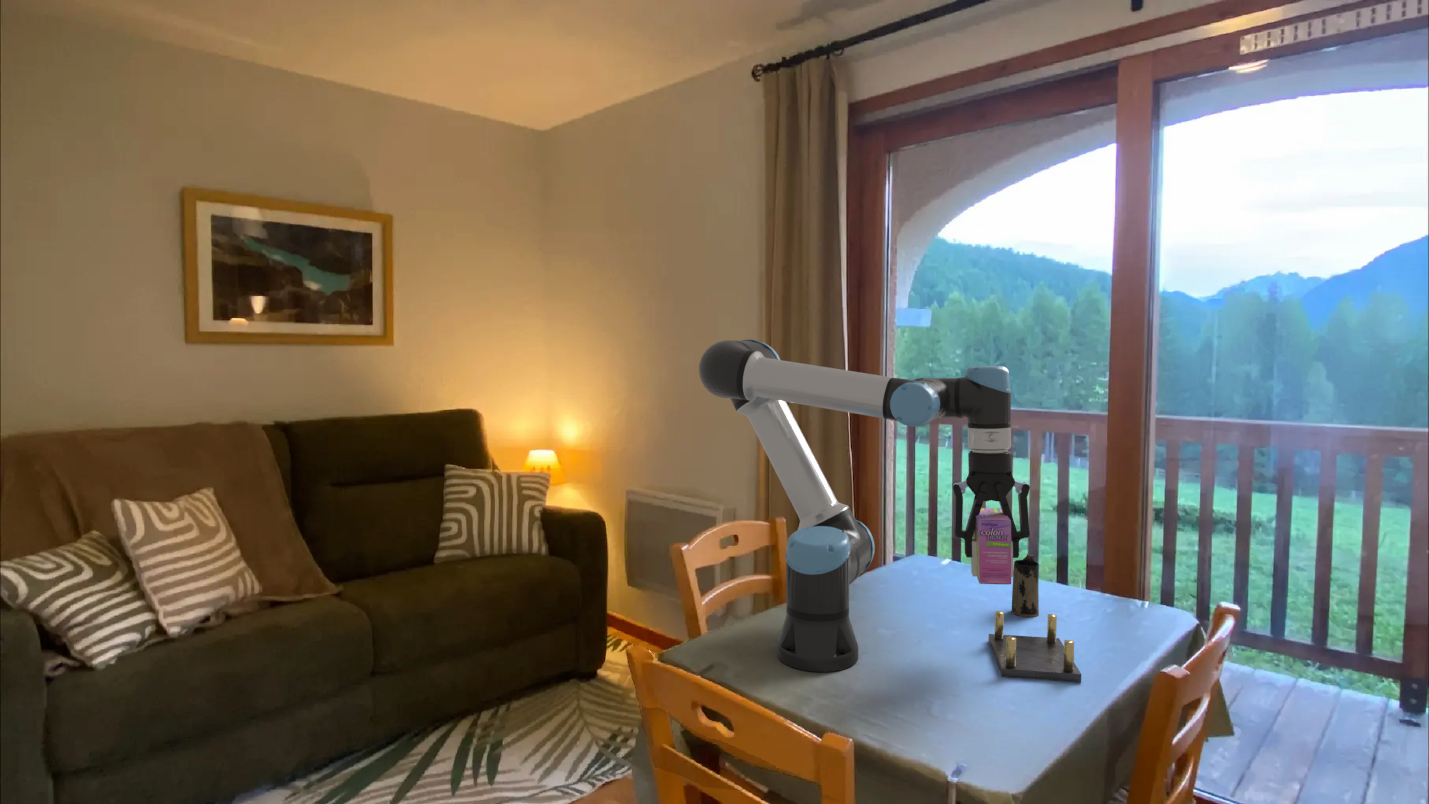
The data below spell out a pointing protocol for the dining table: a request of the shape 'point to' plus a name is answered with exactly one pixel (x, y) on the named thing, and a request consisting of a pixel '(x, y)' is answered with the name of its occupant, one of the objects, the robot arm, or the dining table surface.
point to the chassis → (1033, 654)
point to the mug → (1025, 587)
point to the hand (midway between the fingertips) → (992, 574)
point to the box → (993, 546)
